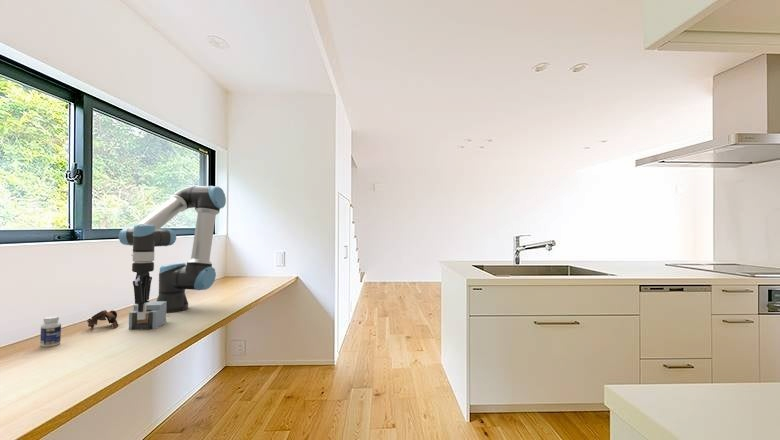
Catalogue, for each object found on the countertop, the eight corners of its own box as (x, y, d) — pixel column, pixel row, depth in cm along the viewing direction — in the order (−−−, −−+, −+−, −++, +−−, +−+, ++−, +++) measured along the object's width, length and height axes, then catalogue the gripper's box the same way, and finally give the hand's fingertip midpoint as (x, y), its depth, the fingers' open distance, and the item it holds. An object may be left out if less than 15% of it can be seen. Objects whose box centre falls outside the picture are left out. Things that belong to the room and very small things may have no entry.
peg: (148, 316, 166) (148, 307, 166) (158, 316, 167) (158, 307, 167) (136, 323, 154) (136, 313, 154) (147, 323, 155) (147, 313, 155)
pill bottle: (44, 348, 130) (45, 320, 130) (37, 345, 132) (37, 318, 132) (63, 343, 135) (64, 316, 135) (55, 341, 137) (56, 314, 137)
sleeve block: (141, 322, 166) (141, 301, 166) (166, 321, 168) (166, 301, 168) (128, 329, 153) (128, 307, 154) (155, 328, 156) (155, 307, 156)
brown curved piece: (112, 331, 152) (100, 315, 150) (91, 341, 152) (78, 325, 150) (128, 317, 164) (117, 301, 162) (108, 326, 164) (97, 311, 162)
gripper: (139, 260, 160) (138, 315, 160) (125, 263, 147) (123, 323, 147) (159, 260, 162) (157, 315, 161) (147, 263, 149) (145, 322, 149)
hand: (141, 319), depth 154 cm, fingers closed
